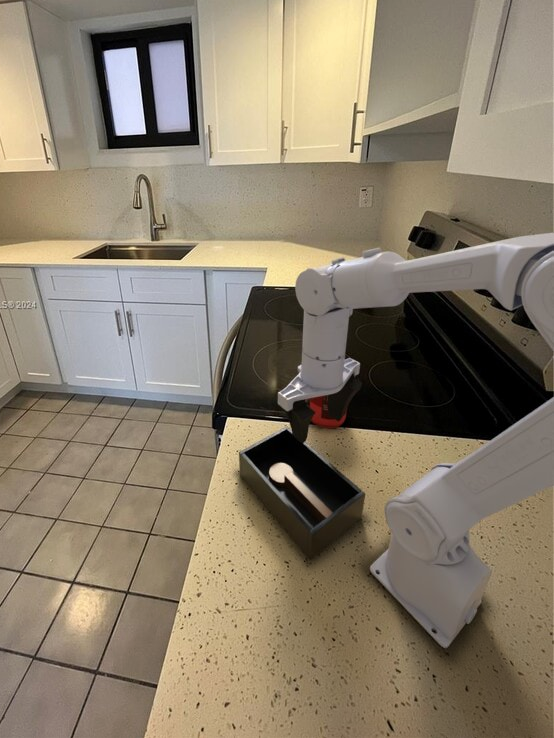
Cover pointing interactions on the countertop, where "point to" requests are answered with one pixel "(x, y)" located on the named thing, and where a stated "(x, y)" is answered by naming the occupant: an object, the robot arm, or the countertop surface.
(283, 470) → the tan long slender bar
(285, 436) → the tin
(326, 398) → the canned food
